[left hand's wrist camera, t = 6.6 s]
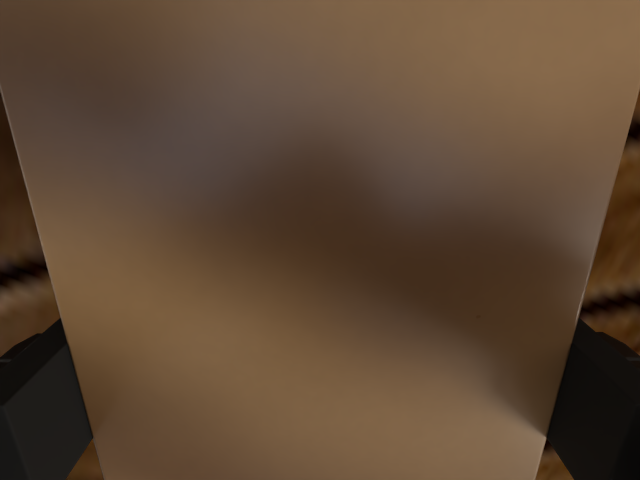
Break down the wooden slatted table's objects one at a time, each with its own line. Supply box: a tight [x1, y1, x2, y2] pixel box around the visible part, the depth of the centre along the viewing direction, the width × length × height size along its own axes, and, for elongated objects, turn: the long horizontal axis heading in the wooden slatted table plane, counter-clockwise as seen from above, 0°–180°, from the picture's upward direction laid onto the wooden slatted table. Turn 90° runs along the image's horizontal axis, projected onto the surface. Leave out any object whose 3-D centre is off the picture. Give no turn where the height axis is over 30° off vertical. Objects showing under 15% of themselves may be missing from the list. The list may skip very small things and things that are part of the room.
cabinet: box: [0, 0, 640, 480], centre depth 12 cm, size 18×11×10 cm, turn 0°
